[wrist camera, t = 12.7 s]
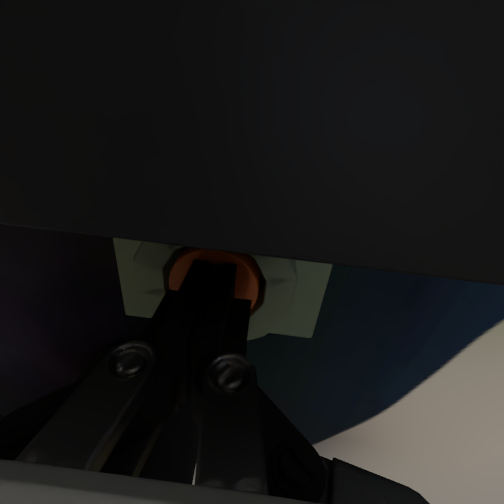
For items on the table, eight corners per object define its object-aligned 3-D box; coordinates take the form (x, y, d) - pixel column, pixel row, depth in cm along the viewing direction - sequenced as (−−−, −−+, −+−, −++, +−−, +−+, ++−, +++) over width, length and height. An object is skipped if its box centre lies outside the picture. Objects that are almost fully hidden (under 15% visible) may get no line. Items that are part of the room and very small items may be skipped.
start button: (182, 292, 13) (170, 317, 12) (180, 224, 12) (165, 244, 10) (255, 301, 13) (253, 328, 12) (264, 235, 12) (263, 256, 10)
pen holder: (139, 428, 23) (59, 624, 15) (57, 357, 20) (-117, 566, 11) (236, 404, 21) (209, 627, 12) (164, 317, 17) (47, 551, 8)
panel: (138, 295, 16) (107, 341, 13) (120, 153, 12) (69, 172, 9) (308, 316, 16) (316, 367, 13) (344, 180, 12) (368, 208, 9)
